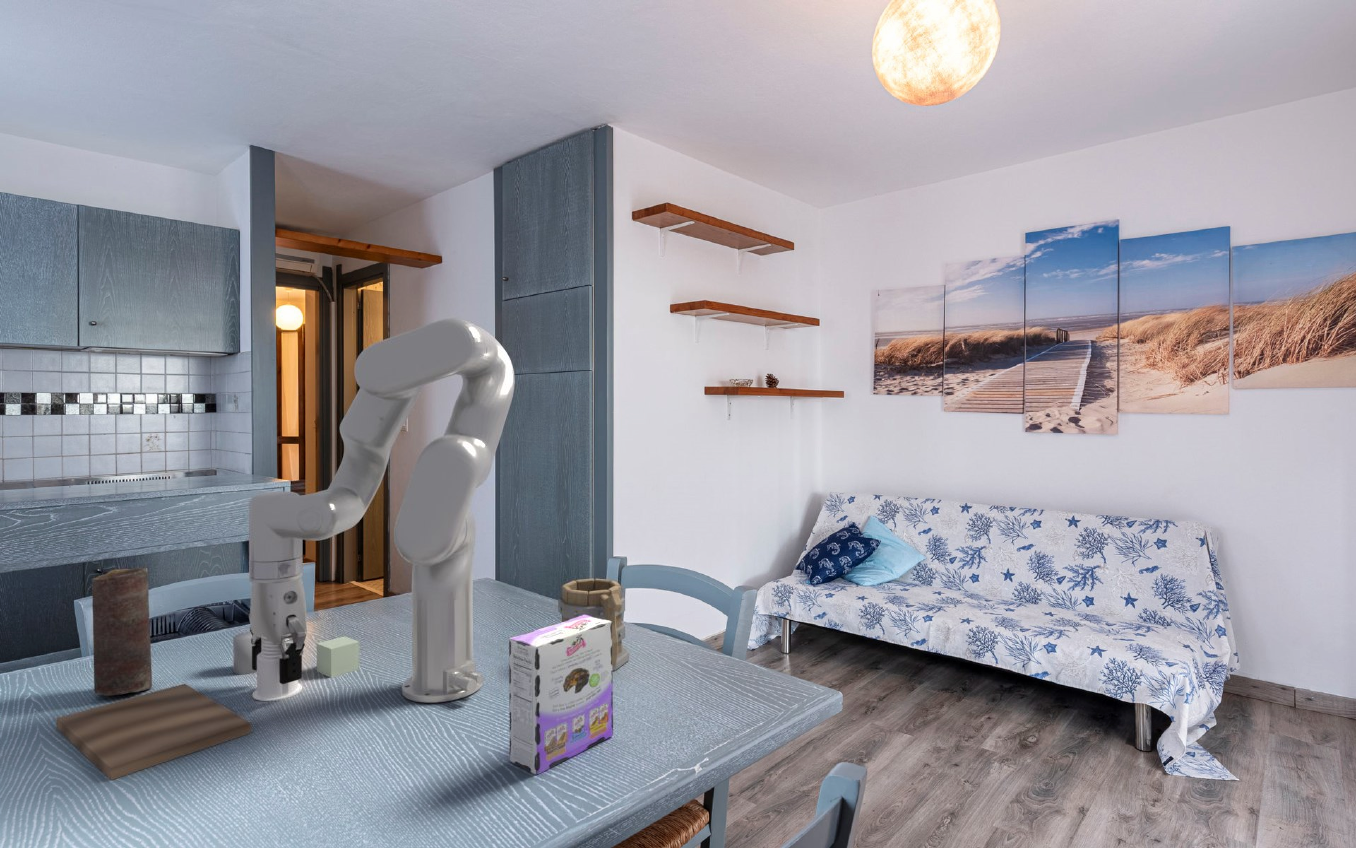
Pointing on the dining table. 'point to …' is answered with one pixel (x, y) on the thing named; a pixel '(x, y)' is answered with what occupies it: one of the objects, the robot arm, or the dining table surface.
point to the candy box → (560, 691)
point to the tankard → (597, 609)
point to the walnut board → (150, 729)
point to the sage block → (337, 656)
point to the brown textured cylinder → (121, 632)
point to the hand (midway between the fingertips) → (276, 674)
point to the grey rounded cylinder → (243, 654)
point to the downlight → (272, 675)
